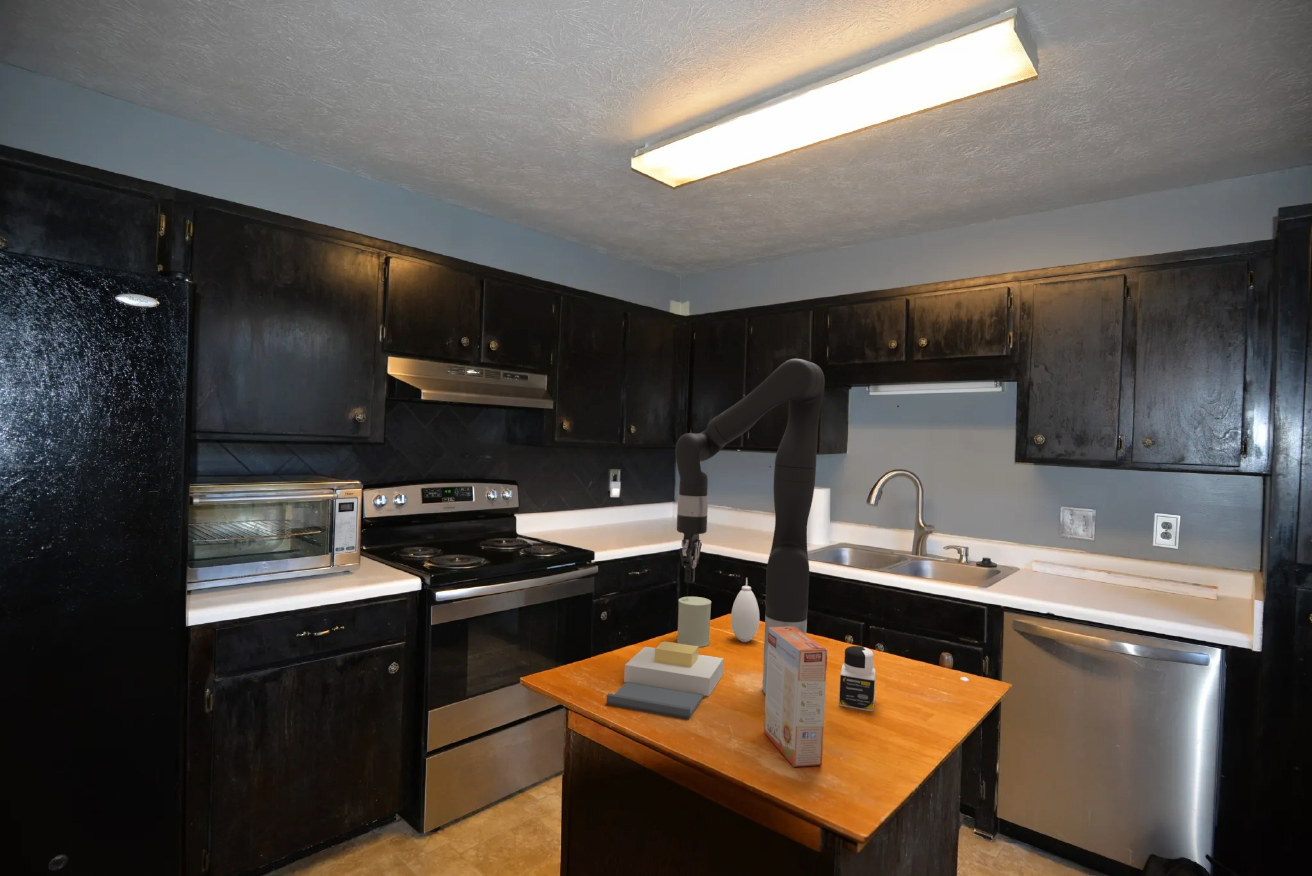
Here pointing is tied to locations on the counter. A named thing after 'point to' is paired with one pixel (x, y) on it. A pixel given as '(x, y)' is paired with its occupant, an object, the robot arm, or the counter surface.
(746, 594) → the white bulb air blower
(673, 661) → the yellow block
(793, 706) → the cracker box
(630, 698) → the tray
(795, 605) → the robot arm
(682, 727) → the counter surface
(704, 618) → the can
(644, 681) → the white flat block
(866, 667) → the medicine bottle
